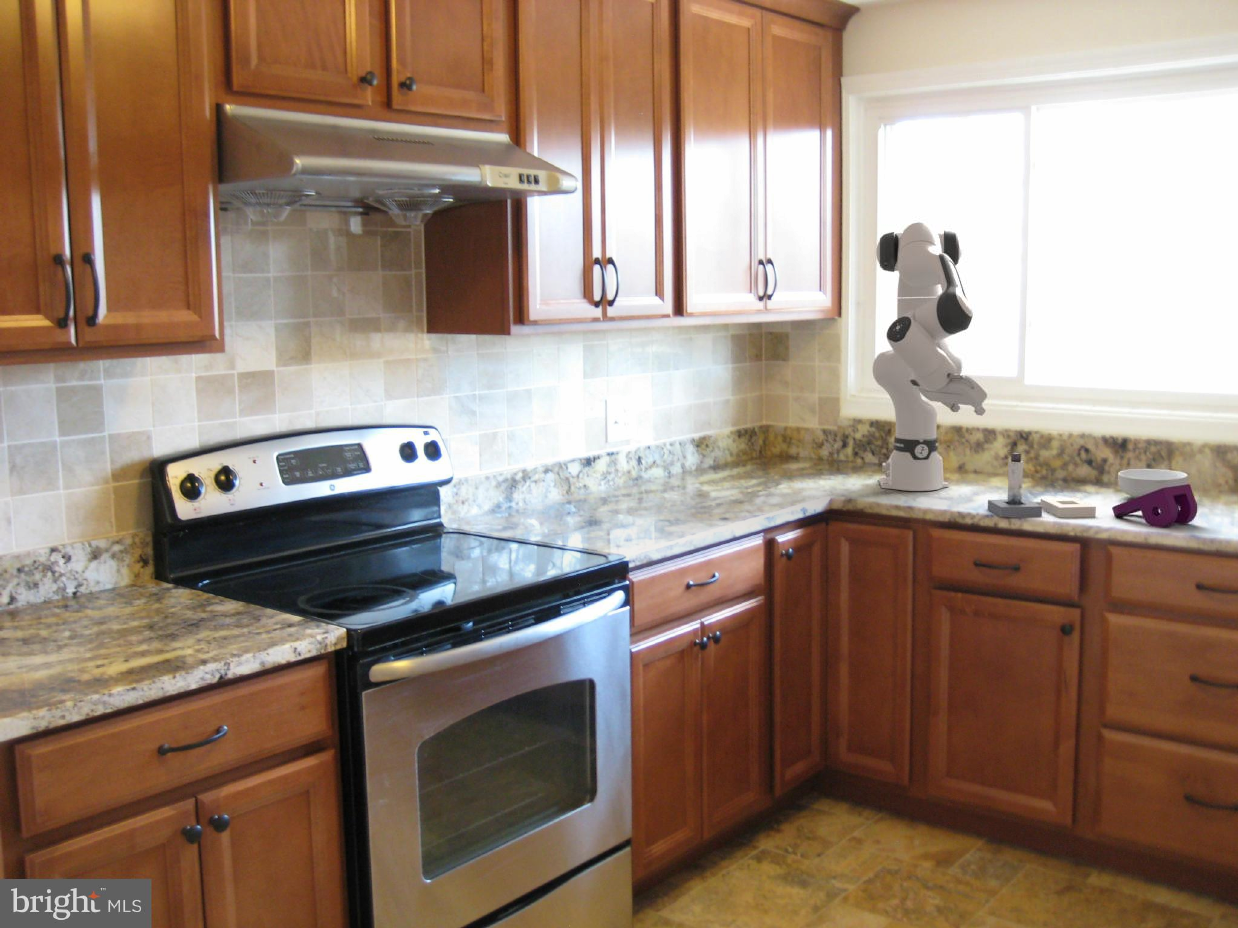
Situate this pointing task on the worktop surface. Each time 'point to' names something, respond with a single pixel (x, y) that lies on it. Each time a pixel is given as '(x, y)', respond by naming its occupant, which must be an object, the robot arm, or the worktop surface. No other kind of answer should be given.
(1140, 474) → the cereal bowl
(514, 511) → the worktop surface
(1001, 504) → the socket
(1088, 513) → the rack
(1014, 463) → the capped cylinder peg
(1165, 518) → the mounting bracket
